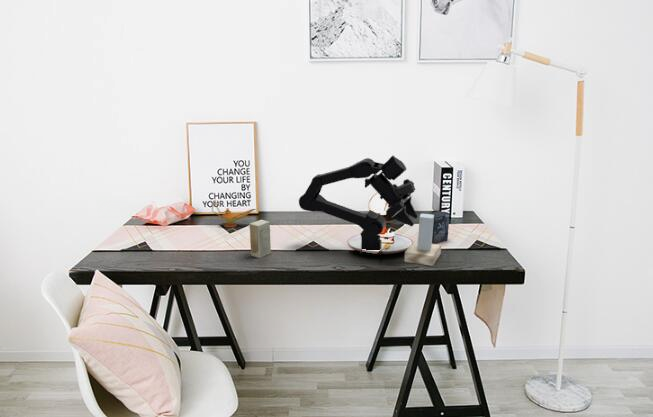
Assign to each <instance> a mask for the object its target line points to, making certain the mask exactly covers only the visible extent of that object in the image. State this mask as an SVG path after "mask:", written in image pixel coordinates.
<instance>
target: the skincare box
mask: <svg viewBox="0 0 653 417" xmlns="http://www.w3.org/2000/svg"><path fill="white" fill-rule="evenodd" d="M249 236H250V238H249V240H250V241H249V242H250V255H251V256H252V257H254V258H257V259H261V258H263V257H266V256H269V255H270V254H271V253H272V248H271V247H272V246H271V244H272V243H271V224H270V221H268V220H266V219H265V220H264V219H259V220H257V221H254V222H251V223H249Z"/></svg>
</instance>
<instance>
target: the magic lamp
mask: <svg viewBox="0 0 653 417" xmlns="http://www.w3.org/2000/svg"><path fill="white" fill-rule="evenodd" d="M212 203H213V204H214V205H213V206H212V207H211V212H212V213H214V214H215V215H218V216H219V217H221V218H220V219H219V218H218V219H217V220H218V221H220V220H222V221H224V222H226V224H224V227H225V228H234V227H237V223H234V222H236V221H239V220H241V219H243V218H245V217H246V216H248V215H249V214H250V213H252V212H254V211H256V210H257V208H256V209H255V208H252V209H248V210H246V211H244V212H238V213H237V212H232V211H231V210H230V208H228V207H227V208H226V210H225V211H224V210H223V211H221V210H220V209H219V206H218V202H217V200H215V199H213V202H212ZM214 207H216V209H217V211H218V213H217V212H216V211H214V210H213V209H214ZM219 213H220V214H219ZM221 214H222V215H221Z"/></svg>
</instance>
